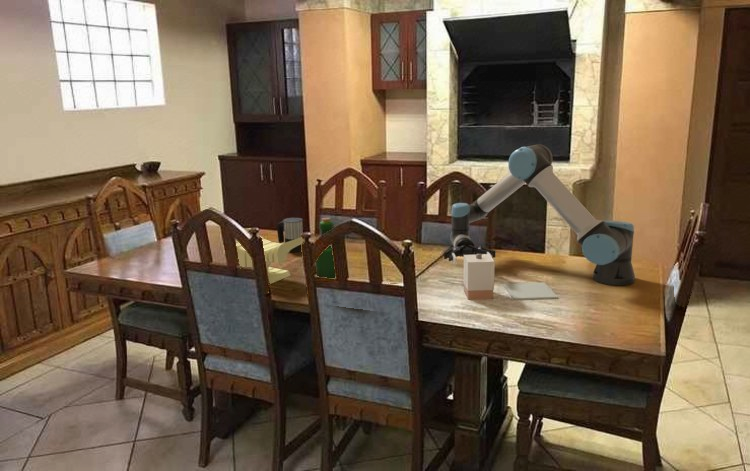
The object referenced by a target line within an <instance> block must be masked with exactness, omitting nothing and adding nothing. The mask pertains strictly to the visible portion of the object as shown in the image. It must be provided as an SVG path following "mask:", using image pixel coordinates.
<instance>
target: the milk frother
mask: <svg viewBox="0 0 750 471" xmlns="http://www.w3.org/2000/svg"><path fill="white" fill-rule="evenodd" d="M303 220H304V219H303V218H301V217H287V218H284V219H283V220H282V221H279V222H278V223H277V225H276V231H277V232H276V233H277V240H278V243H280V244H282V243H286V242H289V241H292V240H295V239H297V238H300V237H301V236H300V234H301V233H303ZM297 252H301V245H298V246H296V247H295V248H293V249H292V250H290V251H289V253H297Z"/></svg>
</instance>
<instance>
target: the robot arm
mask: <svg viewBox="0 0 750 471" xmlns="http://www.w3.org/2000/svg"><path fill="white" fill-rule="evenodd" d="M553 169H554V166H553V154H552V152H551V150H550V149H549V148H548V147H547V146H545V145H543V144H537V143H536V144H533V145H529V146H521V147H520V148H518V149H516V150H514V151H512V153H511V154H510V156H509V158H508V170H509V172H508V173H507V174H506V175H505V176H503V178H501V179H500V180H499V181H498V182H496V183H495V184H494V185H493V186H492V187H491V188H489V189H488V190H487V191H485V192H484V193H483V194H482V195H481V196H479V197H478V198H477V199H476V200H475V201H473V202H472V203H471V204H469V203H467V202H456V203H454V204H452V206H451V213H450V214H451V215H450V216H451V233H450V240H449V241H450V243H451V244H452V246H449V247H448V249H447V250H445V251H444V252H443V259H444V260H447V259H448V262H452V263H453V265H456V266H457V257H463V258H464V255H476V254H489V255H490V256H491V257H492V259H493V260H494V258H496V250H493V249H491V248H488V247H485V246H484V245H480V246H479V247H478V246H475V244H474V242H473V240H472V239H471V238H470V224H471V223H473V222H476V221H481V220H482V219H484V218H486V216H487V215H488V214H489V213H490V212H491V211H492V210H493V209H494V208H496V207H497V206H498V205H500V203H502V202H503V201H505V200H506V199H508V198H509V197H510V196H511V195H512V194H514V193H515V192H516V191H517V190H518V189H520V188H521V187H523V185H525V184H526V185H527V186H528V187H529V188H535V189H536V191H538V192H539V194H540V195H541V196H542V197H543V198H544V199H545V201H546V202H547V203H548V204H549V205H550V206H551V207H552V208H553V209H554V210H555V212H556V213H557V214H558V215H559V216H560V217H561V218H562V219H563V220H564V221H565V223H566V224H567V225H568V226H569V227H570V229H572V231H573V232H574V233H575V234H576V235H577V239H576V242H577V243H579V245H580V246H581V248H582V249H581V250H582V254H583V256H584V258H585V259H586V260H587V261H589V263H592V264H594V265H595V267H594V269H593V272H592V279H593V280H594V281H595V282H597V283H600V284H603V285H608V286H609V285H610V286H628V285H633V284H634V283H635V282H634V281H636V280H635V278H636V274H635V272H634V271H635V270H634V267H633V263H632V257H633V256H632V255H633V245H634V244H633V243H634V234H635V226H634V224H633V223H631V222H627V221H622V220H621V221H619V220H602V219H601V220H600V219H599V220H598V219H596V218H595V217H594V216H593V214H591V213H590V212H589V210H588V209H587V208H586V207H585V206H584V205H583V204H582V203H581V202H580V200H579V199H578V197H576V196H575V195H574V194H573V193H572V192H571V190H570V189H568V187H567V186H566V185H565V184H564V182H562V181H561V180H560V179H559V177H558V176H557V175H556V174H555V173H554V170H553Z"/></svg>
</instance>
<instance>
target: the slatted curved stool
mask: <svg viewBox="0 0 750 471" xmlns="http://www.w3.org/2000/svg"><path fill="white" fill-rule="evenodd" d="M247 229H251V228H250V227H249V228H247ZM259 236H260V237H261V238H262V241H263V248H264V255H265V261H266V266H267V271H268V276H269V281H270V284H269V285H272V284H273V283H276V282H278V281H281V280H283V279H286V278H288V277H291V274H290V271H289V270H287V269H286V270H285V269H282V268H281V269H280V268H276V267H275V268H274V267H271V266H270V265H271V263H274V264H275V265H281V264H284V263H286V262H287V256H288V255H289V253H290V252H289V251H290V250H292V249H293V248H295V247H296V246H298V245H301V244H302V242H303V239H302V237H300V238H297V239H295V240H292V241H289V242H286V243H285V242H283V243H279V242H273V241H271V240H268V239H266V238H264V237H263V236H261V235H259ZM221 245H222V246H221V247H222V254H223V255H225V250H224V245H223V241H222V244H221ZM236 246H237V252H238V258H237V260H238V259H239V262H238V264H240V265H239V267H240V266H242V267H252V260H251V257H250V256H249V254H248V253H247V251H246V250H245V249H244V248H243V247H242V246H241V244H240V243H239V242H238V241H236Z"/></svg>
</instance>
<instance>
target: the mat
mask: <svg viewBox="0 0 750 471" xmlns="http://www.w3.org/2000/svg"><path fill="white" fill-rule="evenodd" d="M502 286H503V288H504V290H506V292H507V293H508V294H509V296H510V298H511V299H512V300H513V301H520V300H523V301H524V300H548V299H550V300H551V299H555V300H556V299H559V298H558V295H556V293H555V292H554V291H553V290H552V289H551V288H550V287H549V286H548V284H547V283H546V282H545V281H544V282H515V283H502Z"/></svg>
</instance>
